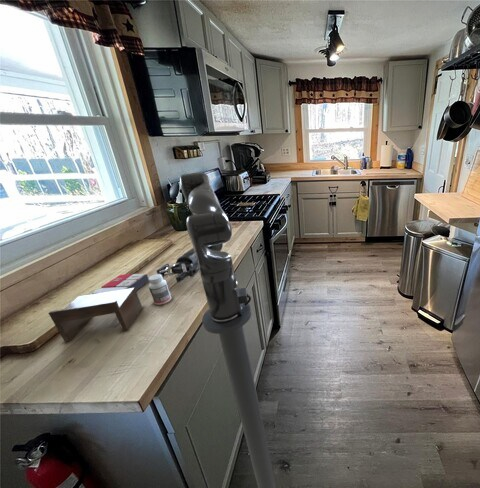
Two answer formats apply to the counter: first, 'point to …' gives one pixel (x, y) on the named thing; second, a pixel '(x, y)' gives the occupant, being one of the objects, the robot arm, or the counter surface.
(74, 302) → the spice shelf
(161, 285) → the pill bottle
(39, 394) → the counter surface
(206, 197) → the robot arm
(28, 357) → the counter surface
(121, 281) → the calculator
